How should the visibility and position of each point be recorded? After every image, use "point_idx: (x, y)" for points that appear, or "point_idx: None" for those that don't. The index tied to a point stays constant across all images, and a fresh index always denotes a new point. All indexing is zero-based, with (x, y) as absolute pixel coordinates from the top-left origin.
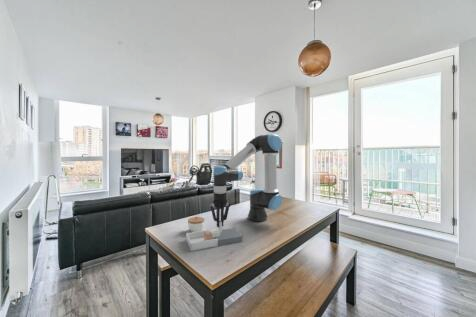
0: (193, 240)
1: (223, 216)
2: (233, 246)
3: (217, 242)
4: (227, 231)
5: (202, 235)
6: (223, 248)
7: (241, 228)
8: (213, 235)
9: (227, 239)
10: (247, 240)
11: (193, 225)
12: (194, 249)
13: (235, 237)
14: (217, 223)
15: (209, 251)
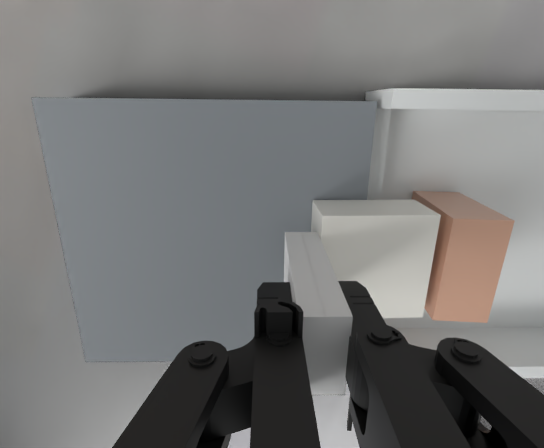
0: (530, 289)
1: (259, 417)
2: (210, 11)
3: (383, 90)
4: (186, 297)
5: (435, 337)
6: (331, 12)
7: (10, 382)
8: (405, 207)
9: (252, 100)
10: (10, 94)
11: None
12: None
13: (140, 99)
14: (380, 316)
15: (490, 9)
